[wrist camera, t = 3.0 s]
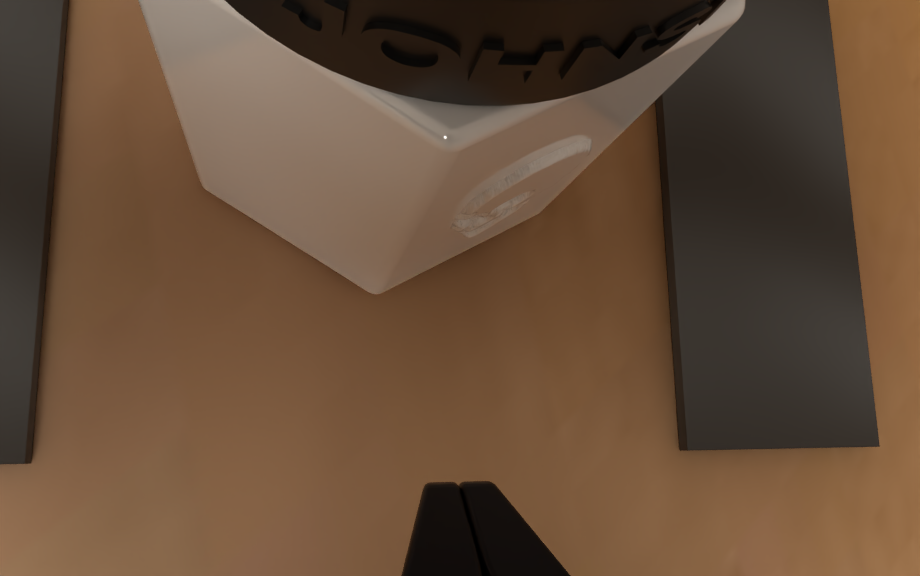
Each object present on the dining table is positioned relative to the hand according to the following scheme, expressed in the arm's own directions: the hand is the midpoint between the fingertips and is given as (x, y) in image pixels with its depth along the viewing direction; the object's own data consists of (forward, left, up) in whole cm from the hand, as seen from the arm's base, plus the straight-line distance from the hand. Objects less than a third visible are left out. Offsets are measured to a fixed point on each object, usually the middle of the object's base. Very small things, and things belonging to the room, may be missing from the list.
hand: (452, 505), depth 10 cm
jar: (+9, 0, -8) cm, 12 cm away
